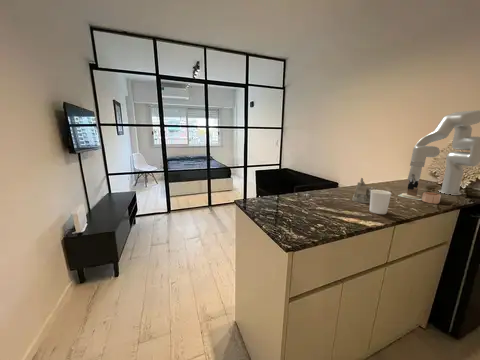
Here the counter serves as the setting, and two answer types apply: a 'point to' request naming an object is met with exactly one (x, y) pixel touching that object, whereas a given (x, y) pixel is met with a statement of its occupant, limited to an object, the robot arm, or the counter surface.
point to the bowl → (431, 197)
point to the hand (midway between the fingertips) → (412, 188)
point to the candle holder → (379, 201)
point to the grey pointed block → (362, 192)
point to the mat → (411, 198)
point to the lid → (412, 194)
